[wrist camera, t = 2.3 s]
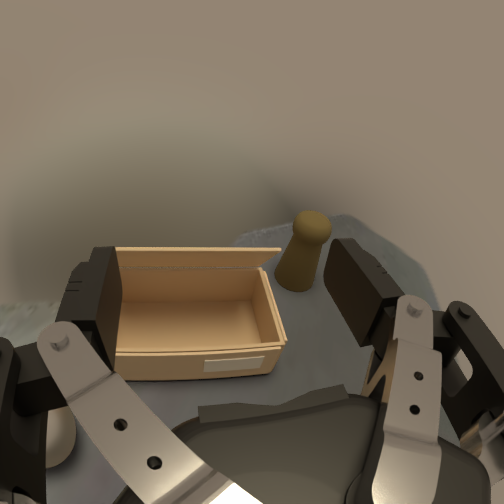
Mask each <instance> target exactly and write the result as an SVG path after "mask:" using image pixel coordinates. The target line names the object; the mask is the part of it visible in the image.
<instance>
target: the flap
mask: <svg viewBox="0 0 504 504" xmlns="http://www.w3.org/2000/svg"><path fill="white" fill-rule="evenodd" d="M115 249H116V253H117V259H118V265H119V267H258V266H260V265H261V264H263V263H264V262H266V261H267V260H269V259H270V258H272V257H273V256H274V255H276V254H277V253H279V252H280V251H281V248H194V247H193V248H192V247H190V248H189V247H186V248H185V247H184V248H183V247H179V248H178V247H174V248H172V247H171V248H170V247H162V248H161V247H155V248H154V247H152V248H151V247H115Z"/></svg>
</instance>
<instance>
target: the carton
mask: <svg viewBox="0 0 504 504" xmlns="http://www.w3.org/2000/svg"><path fill="white" fill-rule="evenodd" d="M119 270H120V276H121V281H122V290H123V296H122V304H121V312H120V319H119V327H118V336H117V345H116V355H115V366H114V371H115V372H117V373H118V374H119V375H120V376H121V377H122V378H123V380H186V379H207V378H222V377H235V376H247V375H257V374H266V373H270V372H272V370H273V368H274V366H275V365H276V363H277V361H278V359H279V357H280V355H281V352H282V350H283V348H284V346H285V344H286V342H287V338H286V335H285V331H284V328H283V325H282V322H281V319H280V315H279V312H278V309H277V306H276V303H275V300H274V296H273V293H272V290H271V287H270V284H269V281H268V278H267V274H266V271H262V268H119Z"/></svg>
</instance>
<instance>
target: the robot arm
mask: <svg viewBox="0 0 504 504" xmlns="http://www.w3.org/2000/svg"><path fill="white" fill-rule="evenodd" d="M68 282H69V283H68V284H67V287H66V290H65V293H64V296H63V298H62V301H61V304H60V307H59V310H58V313H57V317H56V320H55V323H53V324H50V325H49V326H47V327H46V328H44V329H43V331H42V332H41V333H40V335H39V337H38V339H37V342H35V343H31V344H28V345H24V346H20V347H16V348H14V347H13V346H12V344H11V342H10V341H9V340H8V339H6V338H3V337H0V504H47V503H46V439H47V423H48V411H50V410H54V409H58V408H62V407H66V406H69V407H70V409H71V410H72V412H73V413H74V415H75V416H76V418H77V419H78V421H79V422H80V424H81V425H82V427H83V428H84V430H85V431H86V433H87V434H88V435H89V437H90V438H91V440H92V441H93V442H94V444H95V445H96V446H97V448H98V449H99V450H100V452H101V453H102V454H103V456H104V457H105V458H106V459H107V461H108V462H109V463H110V464H111V466H112V467H113V468H114V469H115V471H116V472H117V473H118V474H119V475H120V477H121V478H122V479H123V480H124V481H125V482H126V484H127V486H126V487H125V488H124V490H123V491H122V492H121V493H120V495H119V496H118V497H117V499H116V500H115V501H114V502H113V504H491V486H493V485H494V484H495V483H497V482H498V481H500V480H502V479H503V478H504V349H503V348H502V347H501V345H500V344H499V342H498V341H497V339H496V338H495V337H494V335H493V334H492V333H491V331H490V330H489V329H488V327H487V326H486V325H485V323H484V322H483V321H482V319H481V318H480V317H479V315H478V314H477V313H476V312H475V311H474V309H473V308H472V307H470V306H469V305H467V304H466V303H463V302H460V301H453V302H451V303H450V305H449V306H448V308H447V310H446V312H443V311H434V310H432V309H431V307H430V306H429V305H428V304H427V303H426V302H425V301H424V300H422V299H421V298H419V297H416V296H413V295H405V294H404V292H403V291H402V290H401V289H400V287H399V286H398V285H397V284H396V282H395V281H394V280H393V279H392V277H391V276H390V275H389V274H387V271H386V270H385V269H384V268H383V267H382V265H381V264H380V263H379V262H378V261H377V259H376V258H375V257H374V256H372V255H371V254H369V253H368V252H366V251H365V250H363V249H362V248H361V247H360V246H359V244H358V243H357V242H356V241H355V240H354V239H353V238H340V239H334V240H333V241H332V243H331V246H330V250H329V254H328V258H327V262H326V265H325V269H324V283H325V286H326V288H327V290H328V292H329V293H330V295H331V297H332V298H333V300H334V302H335V304H336V305H337V307H338V309H339V311H340V312H341V314H342V316H343V317H344V319H345V321H346V323H347V324H348V326H349V328H350V330H351V332H352V333H353V335H354V337H355V339H356V340H357V342H358V344H359V346H360V347H364V346H369V345H373V347H374V349H373V351H372V353H371V356H370V361H369V365H368V369H367V373H366V377H365V381H364V385H363V388H362V392H361V394H360V395H357V394H347V392H346V390H345V387H344V385H343V384H341V385H337V386H333V387H328V388H323V389H319V390H314V391H310V392H308V393H306V394H304V395H301V396H299V397H297V398H295V399H293V400H290V401H288V402H286V403H283V404H281V405H277V406H269V405H256V404H244V403H230V404H220V405H210V406H198V413H199V417H196V418H192V419H190V420H188V421H185V422H183V423H181V424H180V425H178V426H176V427H175V428H173V429H172V430H169V429H168V428H167V427H166V425H165V424H164V423H163V422H162V421H161V420H160V419H159V418H158V417H157V416H156V415H155V414H154V413H153V412H152V411H151V410H150V409H149V408H148V407H147V406H146V405H145V403H144V402H143V401H142V400H141V399H140V398H139V397H138V396H137V395H136V393H135V392H134V391H133V390H132V389H131V388H130V387H129V385H128V384H127V383H126V382H125V381H124V380H123V378H122V377H121V376H120V375H119V374H118V373H117V372H115V371H114V366H115V355H116V345H117V336H118V327H119V319H120V312H121V304H122V296H123V290H122V281H121V276H120V270H119V265H118V259H117V253H116V249H115V247H114V246H110V247H94V248H93V251H92V253H91V256H90V259H89V262H81V263H80V264H79V265H78V266H77V267H76V268H75V269H74V270H73V271H72V273H71V276H70V278H69V281H68ZM460 349H462V351H463V352H464V354H465V355H466V357H467V358H468V360H469V361H470V363H471V365H472V368H473V374H472V377H471V378H470V379H469V381H467V379H466V377H465V376H464V374H463V372H462V371H461V369H460V367H459V366H458V364H457V363H456V361H455V359H454V358H455V356H456V355H457V354H458V352H459V351H460ZM440 403H441V405H442V406H443V408H444V410H445V412H446V414H447V416H448V418H449V420H450V422H451V424H452V426H453V428H454V430H455V432H456V434H457V436H458V438H459V441H460V448H459V447H458V446H456V445H454V444H452V443H450V442H448V441H446V440H445V439H443V438H441V437H439V436H438V427H439V416H440Z"/></svg>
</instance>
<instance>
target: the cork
mask: <svg viewBox="0 0 504 504" xmlns="http://www.w3.org/2000/svg"><path fill="white" fill-rule="evenodd" d="M331 230H332V226H331V223H330V221H329V219H328V218H327V217H326V216H324V215H323V214H321V213H319V212H316V211H311V210H310V211H309V210H307V211H302V212H300V213H299V214H298V215H297V216H296V217H295V219H294V222H293V233H294V234H293V236H292V238H291V240H290V242H289V244H288V246H287V248H286V250H285V252H284V254H283V256H282V258H281V260H280V262H279V264H278V265H277V267H276V269H275V273H274V274H275V279H276V280H277V282H278V283H279V284H280V285H281V286H282V287H284V288H286V289H288V290H290V291H294V292H303V291H307V290H308V289H310V288H311V286H312V285H313V281H314V277H315V273H316V269H317V265H318V261H319V257H320V253H321V248H322V244H324V243H326V241H327V240H328V239H329V237H330V235H331Z"/></svg>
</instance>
